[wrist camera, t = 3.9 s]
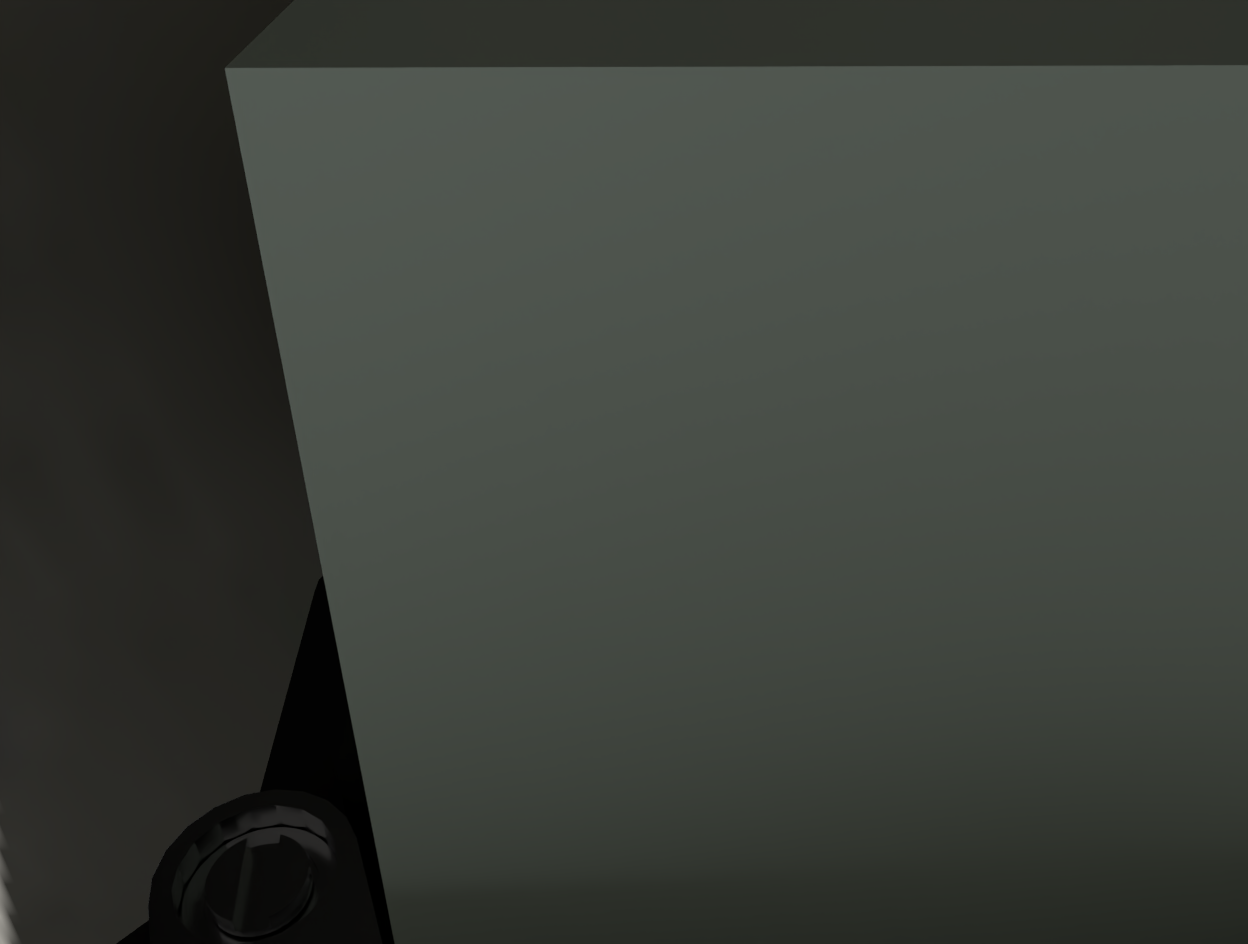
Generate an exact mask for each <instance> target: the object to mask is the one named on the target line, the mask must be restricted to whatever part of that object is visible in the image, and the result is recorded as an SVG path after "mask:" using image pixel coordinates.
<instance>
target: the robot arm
mask: <svg viewBox="0 0 1248 944" xmlns="http://www.w3.org/2000/svg"><path fill="white" fill-rule="evenodd" d="M148 914H149V920H148V921H147V922H146V923H144V924H143V925H141V926H140V927H139V928H137V929H136V930H135V931H133V932H132V933H130V934H129V935H128V936H126V937H125V938H124V939H122V940H121V941H119V942H118V943H117V944H395V943H394V938H393V933H392V928H391V923H390V917H389V912H388V907H387V902H386V897H385V892H384V887H383V881H382V876H381V871H380V866H379V861H378V856H377V850H376V845H375V840H374V835H373V830H372V825H371V820H370V814H369V809H368V804H367V799H366V794H365V789H364V783H363V778H362V773H361V768H360V763H359V758H358V753H357V747H356V742H355V737H354V732H353V727H352V722H351V716H350V711H349V706H348V701H347V696H346V691H345V686H344V680H343V675H342V670H341V665H340V660H339V655H338V649H337V644H336V639H335V634H334V629H333V624H332V618H331V613H330V608H329V603H328V598H327V593H326V588H325V582H324V577H323V576H322V577H321V578H320V579H319V581H318V584H317V587H316V589H315V592H314V596H313V600H312V603H311V607H310V611H309V614H308V618H307V622H306V625H305V629H304V633H303V636H302V640H301V644H300V647H299V651H298V655H297V658H296V662H295V666H294V669H293V673H292V677H291V680H290V684H289V688H288V691H287V695H286V699H285V702H284V706H283V710H282V713H281V717H280V721H279V724H278V728H277V732H276V735H275V739H274V743H273V746H272V750H271V754H270V757H269V761H268V765H267V768H266V772H265V776H264V779H263V783H262V787H261V790H260V792H257V793H252V794H246V795H243V796H240V797H238V798H236V799H233V800H231V801H228V802H226V803H224V804H221V805H219V806H217V807H214V808H213V809H211V810H210V811H209V812H207V813H206V814H204V815H203V816H201V817H200V818H199V819H197V820H196V821H194V822H193V823H191V824H190V825H189V826H187V827H186V828H185V830H184V831H183V832H182V833H181V834H180V835H179V836H178V837H177V839H176V840H175V841H174V842H173V843H172V844H171V845H170V846H169V847H168V849H167V850H166V851H165V853H164V855H163V857H162V859H161V861H160V863H159V865H158V867H157V869H156V871H155V873H154V875H153V877H152V882H151V889H150V896H149V903H148Z"/></svg>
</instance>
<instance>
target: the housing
mask: <svg viewBox="0 0 1248 944" xmlns="http://www.w3.org/2000/svg"><path fill="white" fill-rule="evenodd" d="M225 72H226V77H227V82H228V88H229V93H230V98H231V103H232V108H233V113H234V119H235V124H236V129H237V134H238V139H239V144H240V149H241V155H242V160H243V165H244V170H245V175H246V180H247V186H248V191H249V196H250V201H251V206H252V211H253V216H254V222H255V227H256V232H257V237H258V242H259V247H260V253H261V258H262V263H263V268H264V273H265V278H266V283H267V289H268V294H269V299H270V304H271V309H272V314H273V320H274V325H275V330H276V335H277V340H278V345H279V350H280V356H281V361H282V366H283V371H284V376H285V381H286V387H287V392H288V397H289V402H290V407H291V412H292V417H293V423H294V428H295V433H296V438H297V443H298V448H299V454H300V459H301V464H302V469H303V474H304V479H305V484H306V490H307V495H308V500H309V505H310V510H311V515H312V521H313V526H314V531H315V536H316V541H317V546H318V551H319V557H320V562H321V567H322V572H323V577H324V582H325V588H326V593H327V598H328V603H329V608H330V613H331V618H332V624H333V629H334V634H335V639H336V644H337V649H338V655H339V660H340V665H341V670H342V675H343V680H344V686H345V691H346V696H347V701H348V706H349V711H350V716H351V722H352V727H353V732H354V737H355V742H356V747H357V753H358V758H359V763H360V768H361V773H362V778H363V783H364V789H365V794H366V799H367V804H368V809H369V814H370V820H371V825H372V830H373V835H374V840H375V845H376V850H377V856H378V861H379V866H380V871H381V876H382V881H383V887H384V892H385V897H386V902H387V907H388V912H389V917H390V923H391V928H392V933H393V938H394V943H395V944H1248V0H294V1H293V2H292V3H291V4H290V5H289V6H288V7H287V8H286V9H285V10H284V11H283V12H282V13H281V14H280V15H279V16H278V17H277V18H275V19H274V20H273V21H272V22H271V23H270V24H269V25H268V26H267V27H266V28H265V29H264V30H263V31H262V32H261V33H260V34H259V35H258V36H257V37H256V38H255V39H254V40H253V41H252V42H251V43H250V44H249V45H248V46H247V47H246V48H245V49H244V50H243V51H242V52H241V53H240V54H239V55H238V56H236V57H235V58H234V59H233V60H232V61H231V62H230V63H229V64H228V65H227V66H226V67H225Z"/></svg>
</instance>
